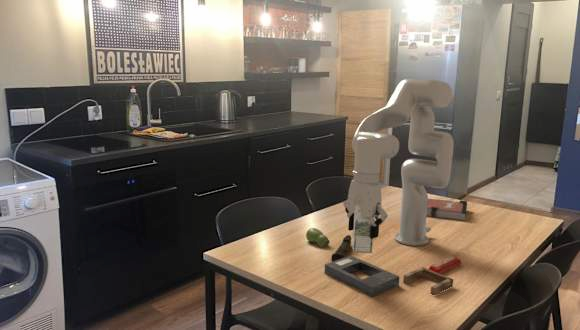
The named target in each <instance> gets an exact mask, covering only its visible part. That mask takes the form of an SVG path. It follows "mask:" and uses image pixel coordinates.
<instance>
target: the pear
mask: <svg viewBox="0 0 580 330" xmlns="http://www.w3.org/2000/svg"><path fill="white" fill-rule="evenodd" d="M305 237H306V240H307V241H308V242H309V243H316V244H317V246H318V247H320V248H325V247H328V246H329V244H331V243H330V240H329V237H328V236H327V235H325V234H324V232H322V230H320V229H318V228H316V227H311V228H309V229H307V230H306V233H305Z"/></svg>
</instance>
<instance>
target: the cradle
mask: <svg viewBox="0 0 580 330" xmlns="http://www.w3.org/2000/svg"><path fill="white" fill-rule="evenodd" d="M421 278H425V279H428V280H430V281H433V282H435V283H436V284H433V285H432V286H430V294H432V295H435V296H437V295H439V294H441V293H443V292H444V290H445V291H447V290H449V289H451V288H453V283H454V279H453V278H452V277H448V276H446V275H443V274H442V273H441V274H439V273H436V272H434V271H431V270H429V269H428V268H426V267H424V266H422V267H420V268H417V269H415V270H412V271H410V272H408V273H406V274H403V280H402V282H403V284H406V285H408V284H410V283H413V282H414V281H417V280H419V279H421ZM450 287H451V288H450ZM448 288H449V289H448ZM446 289H447V290H446ZM442 291H443V292H442ZM440 292H441V293H440ZM438 293H439V294H438ZM436 294H437V295H436ZM432 295H431V296H432Z"/></svg>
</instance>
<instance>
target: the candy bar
mask: <svg viewBox="0 0 580 330" xmlns="http://www.w3.org/2000/svg"><path fill="white" fill-rule="evenodd" d="M461 263H462V260H461V259H460V258H459V257H457V256H455V255H450V256H448V257H446V258H443V259H441V260H439V261H437V262H435V263H432V264H431V265H430V266H429V268H427V269H429V270H431V271H434V272H436V273H439V274H441V275H442V274H444V273H445V271H446V272H448V271H449V270H451V269H454V268H455V267H458V266H460V264H461ZM447 270H448V271H447ZM443 272H444V273H443Z"/></svg>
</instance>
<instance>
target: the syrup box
mask: <svg viewBox="0 0 580 330" xmlns="http://www.w3.org/2000/svg"><path fill="white" fill-rule="evenodd" d="M370 226H372V223H371V220H370V218H366V217H363V216H361V207H360V206H358V205H356V206H355V214H354V225H353V230H352V231H353V232H352V242H351V244H352V245H351V246H352V251H353V253H364V254H372V253H373V240H374V238H373V239H371V238H370Z"/></svg>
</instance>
